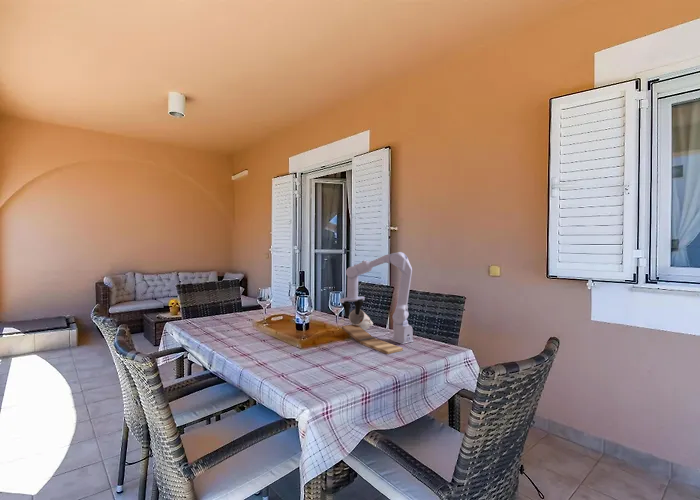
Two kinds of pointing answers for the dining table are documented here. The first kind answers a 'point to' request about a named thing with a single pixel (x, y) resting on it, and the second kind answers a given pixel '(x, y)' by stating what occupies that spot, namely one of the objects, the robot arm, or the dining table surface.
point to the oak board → (381, 345)
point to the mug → (360, 319)
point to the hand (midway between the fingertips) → (352, 315)
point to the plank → (356, 332)
